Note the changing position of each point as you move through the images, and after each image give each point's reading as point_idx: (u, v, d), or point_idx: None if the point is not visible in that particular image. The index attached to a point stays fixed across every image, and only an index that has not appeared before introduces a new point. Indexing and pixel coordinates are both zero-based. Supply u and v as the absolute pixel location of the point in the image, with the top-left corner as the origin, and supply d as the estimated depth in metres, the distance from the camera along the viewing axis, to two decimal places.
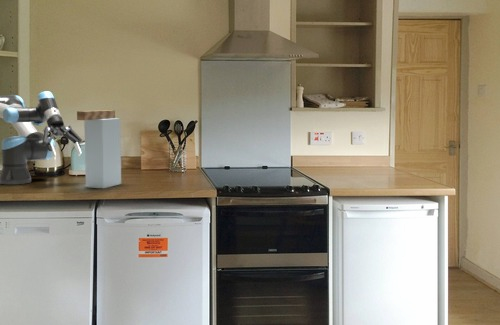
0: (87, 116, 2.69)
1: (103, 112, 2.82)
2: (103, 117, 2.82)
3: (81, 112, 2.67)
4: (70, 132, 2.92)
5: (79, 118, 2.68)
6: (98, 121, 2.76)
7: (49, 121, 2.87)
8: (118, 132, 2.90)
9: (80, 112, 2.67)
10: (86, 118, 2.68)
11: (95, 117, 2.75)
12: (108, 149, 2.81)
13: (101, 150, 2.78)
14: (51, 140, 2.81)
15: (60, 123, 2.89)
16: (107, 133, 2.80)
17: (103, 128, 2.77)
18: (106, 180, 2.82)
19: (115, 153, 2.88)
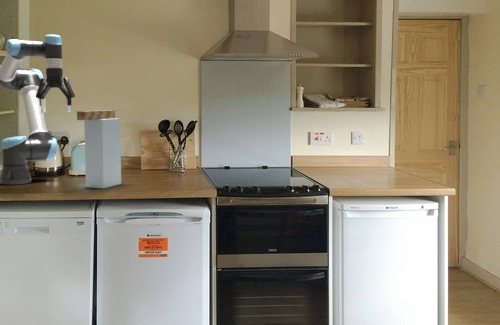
0: (87, 116, 2.69)
1: (103, 112, 2.82)
2: (103, 117, 2.82)
3: (81, 112, 2.67)
4: None
5: (79, 118, 2.68)
6: (98, 121, 2.76)
7: None
8: (118, 132, 2.90)
9: (80, 112, 2.67)
10: (86, 118, 2.68)
11: (95, 117, 2.75)
12: (108, 149, 2.81)
13: (101, 150, 2.78)
14: (42, 95, 2.79)
15: (54, 75, 2.75)
16: (107, 133, 2.80)
17: (103, 128, 2.77)
18: (106, 180, 2.82)
19: (115, 153, 2.88)
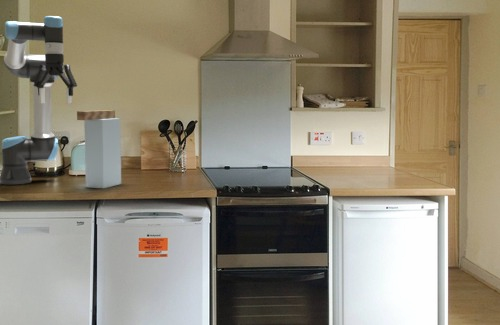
0: (87, 116, 2.69)
1: (103, 112, 2.82)
2: (103, 117, 2.82)
3: (81, 112, 2.67)
4: None
5: (79, 118, 2.68)
6: (98, 121, 2.76)
7: None
8: (118, 132, 2.90)
9: (80, 112, 2.67)
10: (86, 118, 2.68)
11: (95, 117, 2.75)
12: (108, 149, 2.81)
13: (101, 150, 2.78)
14: (41, 84, 2.50)
15: (54, 62, 2.46)
16: (107, 133, 2.80)
17: (103, 128, 2.77)
18: (106, 180, 2.82)
19: (115, 153, 2.88)
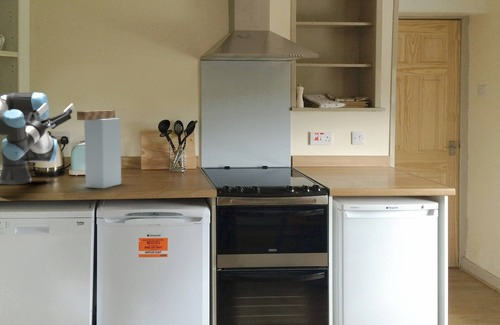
0: (87, 116, 2.69)
1: (103, 112, 2.82)
2: (103, 117, 2.82)
3: (81, 112, 2.67)
4: None
5: (79, 118, 2.68)
6: (98, 121, 2.76)
7: None
8: (118, 132, 2.90)
9: (80, 112, 2.67)
10: (86, 118, 2.68)
11: (95, 117, 2.75)
12: (108, 149, 2.81)
13: (101, 150, 2.78)
14: (38, 118, 2.49)
15: None
16: (107, 133, 2.80)
17: (103, 128, 2.77)
18: (106, 180, 2.82)
19: (115, 153, 2.88)
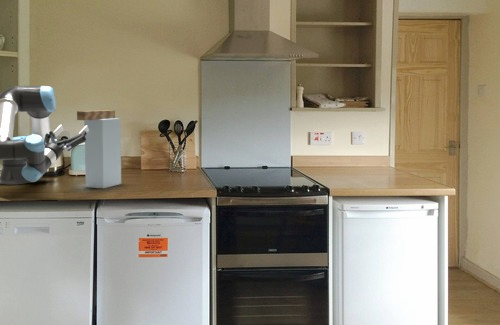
0: (87, 116, 2.69)
1: (103, 112, 2.82)
2: (103, 117, 2.82)
3: (81, 112, 2.67)
4: None
5: (79, 118, 2.68)
6: (98, 121, 2.76)
7: None
8: (118, 132, 2.90)
9: (80, 112, 2.67)
10: (86, 118, 2.68)
11: (95, 117, 2.75)
12: (108, 149, 2.81)
13: (101, 150, 2.78)
14: None
15: None
16: (107, 133, 2.80)
17: (103, 128, 2.77)
18: (106, 180, 2.82)
19: (115, 153, 2.88)
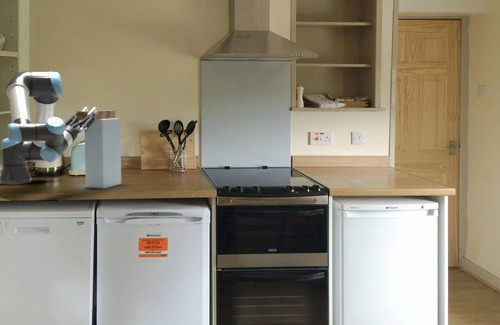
0: None
1: (103, 112, 2.82)
2: (103, 117, 2.82)
3: (81, 112, 2.67)
4: None
5: (79, 118, 2.68)
6: (98, 121, 2.76)
7: None
8: (118, 132, 2.90)
9: (80, 112, 2.67)
10: None
11: (95, 117, 2.75)
12: (108, 149, 2.81)
13: (101, 150, 2.78)
14: (78, 121, 2.70)
15: None
16: (107, 133, 2.80)
17: (103, 128, 2.77)
18: (106, 180, 2.82)
19: (115, 153, 2.88)
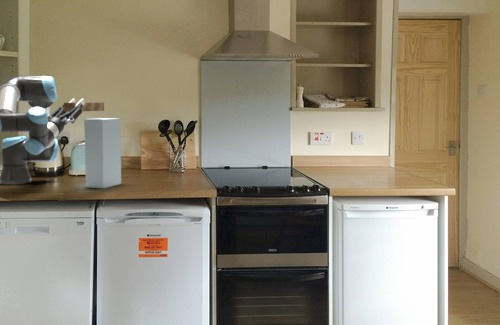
0: None
1: (91, 104, 2.72)
2: (92, 108, 2.73)
3: (68, 103, 2.58)
4: None
5: (66, 109, 2.58)
6: (98, 121, 2.76)
7: None
8: (118, 132, 2.90)
9: (67, 103, 2.58)
10: None
11: (83, 108, 2.66)
12: (108, 149, 2.81)
13: (101, 150, 2.78)
14: (65, 113, 2.61)
15: None
16: (107, 133, 2.80)
17: (103, 128, 2.77)
18: (106, 180, 2.82)
19: (115, 153, 2.88)
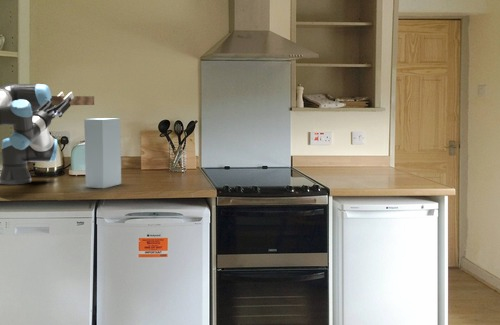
0: None
1: (81, 98, 2.64)
2: (81, 102, 2.64)
3: (56, 97, 2.50)
4: None
5: (54, 103, 2.50)
6: (98, 121, 2.76)
7: None
8: (118, 132, 2.90)
9: (55, 97, 2.50)
10: None
11: (71, 102, 2.57)
12: (108, 149, 2.81)
13: (101, 150, 2.78)
14: (53, 107, 2.52)
15: None
16: (107, 133, 2.80)
17: (103, 128, 2.77)
18: (106, 180, 2.82)
19: (115, 153, 2.88)
